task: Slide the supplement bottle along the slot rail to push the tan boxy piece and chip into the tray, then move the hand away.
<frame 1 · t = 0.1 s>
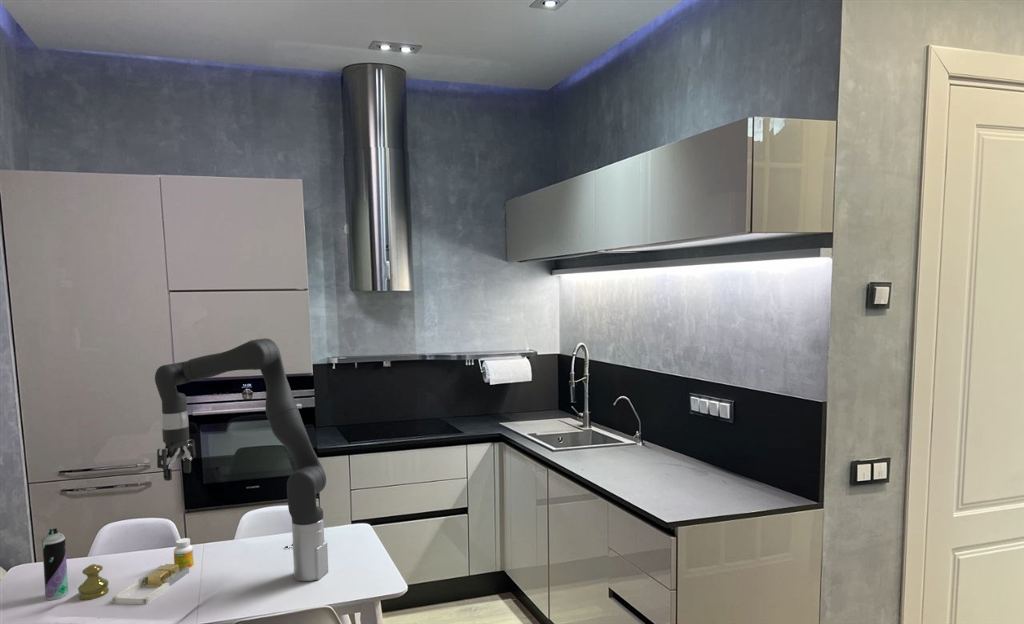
hand: (177, 476, 208), 29 cm above the table, tool pointing down, fingers open, 8 cm apart
slot rail: (164, 584, 196), on the table
tan boxy piece: (158, 583, 194), point 1 cm above the table, touching slot rail
chip a: (168, 576, 198), point 1 cm above the table, touching slot rail
gold metal knob shape: (94, 599, 188), on the table
supplement bottle: (184, 571, 206), on the table
hatchet: (304, 538, 231), on the table
spray can: (57, 596, 191), on the table
tray: (141, 600, 187), on the table
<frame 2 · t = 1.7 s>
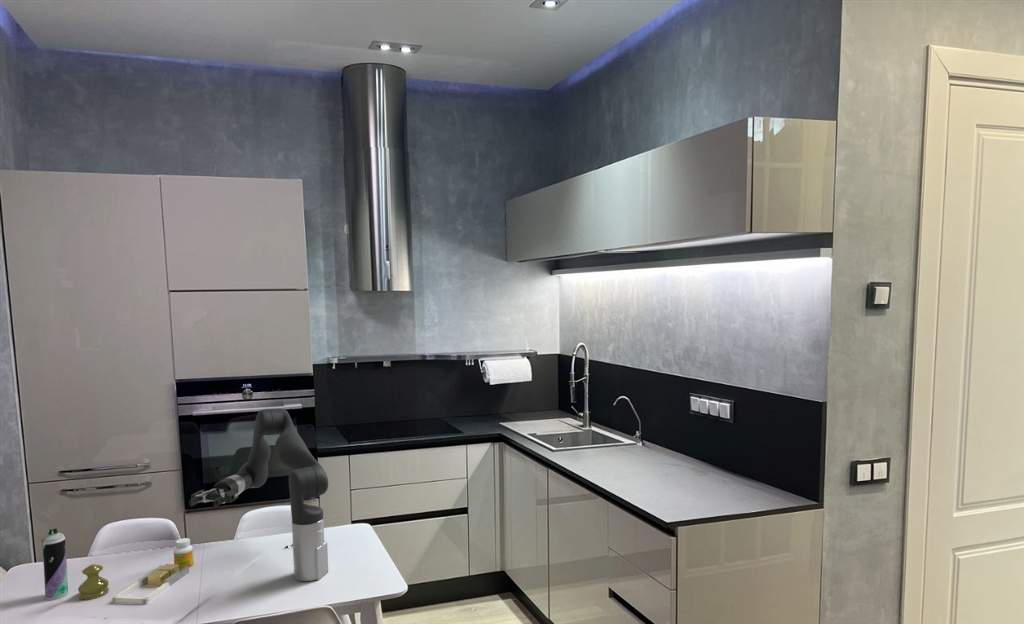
hand: (202, 503, 216), 18 cm above the table, tool horizontal, fingers open, 8 cm apart
nothing on the table moved.
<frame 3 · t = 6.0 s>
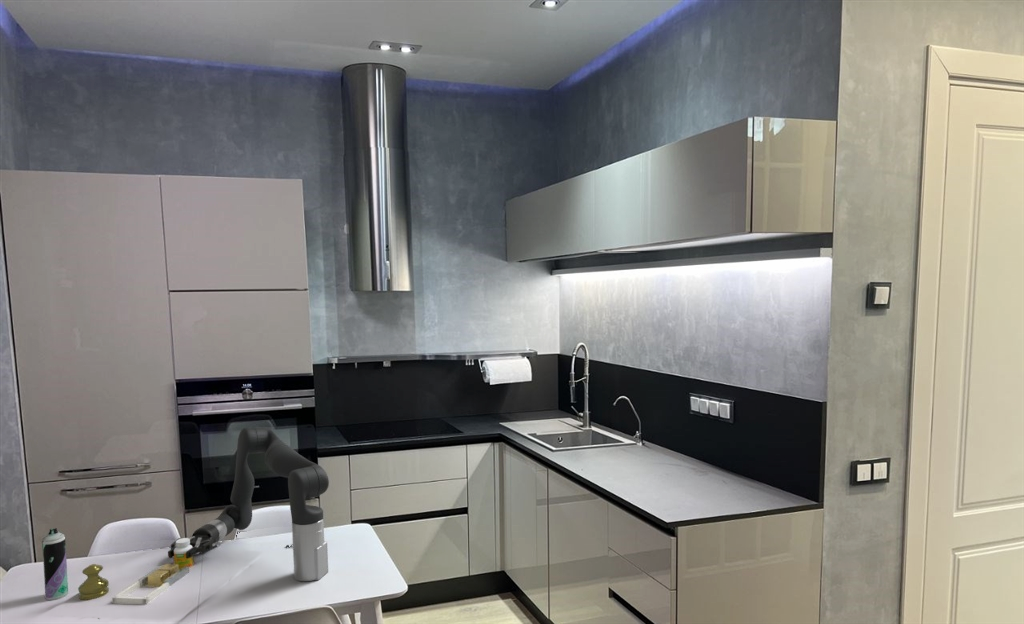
hand: (178, 555, 203), 6 cm above the table, tool horizontal, fingers closed on supplement bottle, 5 cm apart
supplement bottle: (184, 571, 206), on the table, touching gripper
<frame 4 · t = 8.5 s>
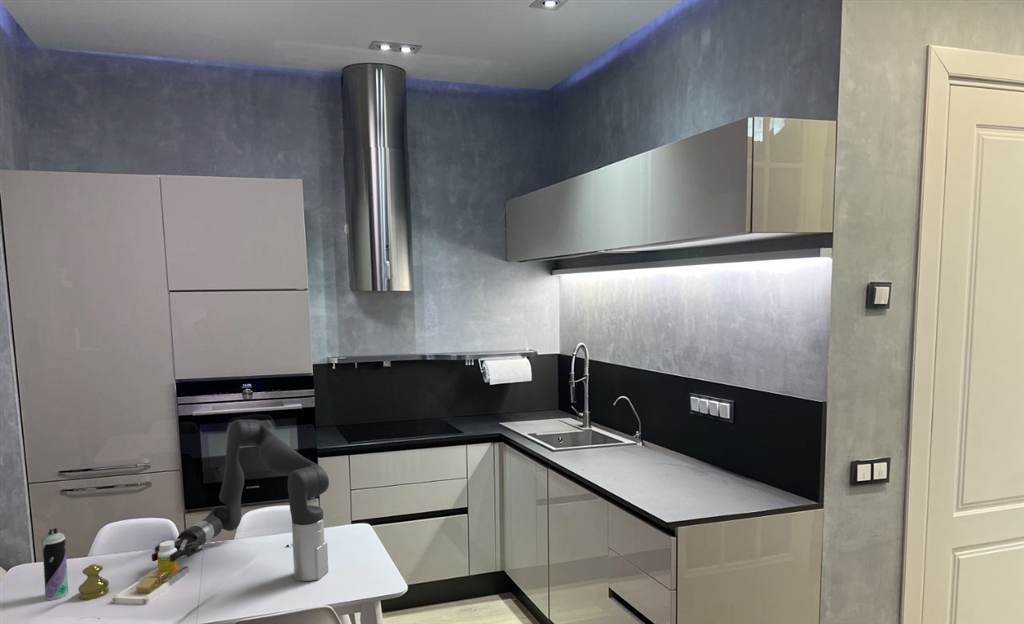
hand: (162, 558, 196), 8 cm above the table, tool horizontal, fingers closed on supplement bottle, 5 cm apart
tan boxy piece: (149, 591, 190), point 1 cm above the table, tilted 14°, touching slot rail, tray
chip a: (158, 583, 194), point 1 cm above the table, touching supplement bottle, slot rail
supplement bottle: (168, 574, 198), point 2 cm above the table, touching chip a, gripper
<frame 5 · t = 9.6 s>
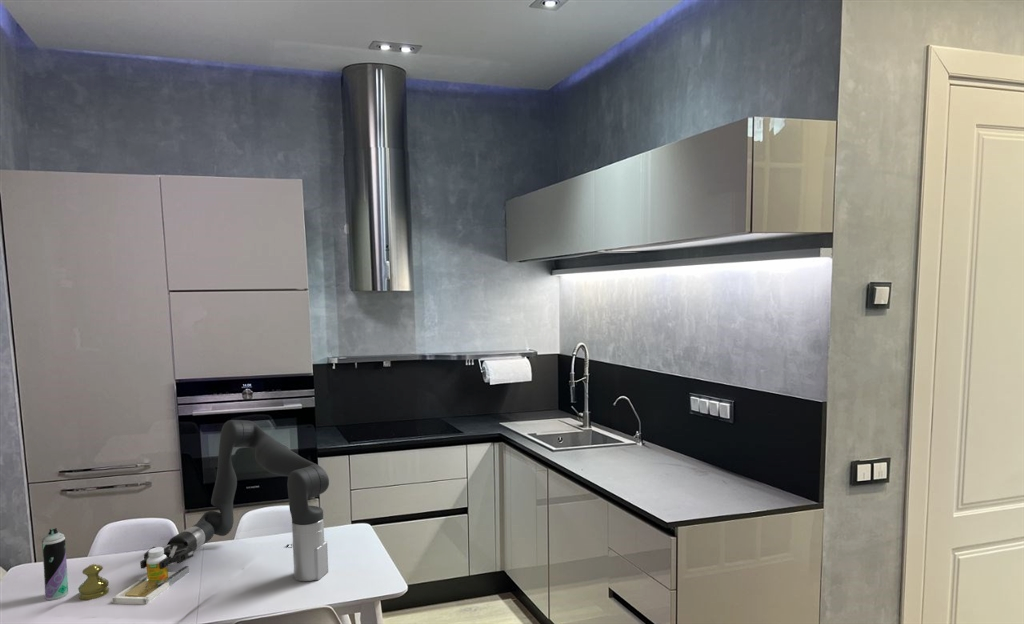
hand: (151, 565, 191), 8 cm above the table, tool horizontal, fingers closed on supplement bottle, 5 cm apart
tan boxy piece: (137, 600, 185), point 1 cm above the table, touching tray
chip a: (147, 594, 189), point 1 cm above the table, touching supplement bottle, tray
supplement bottle: (158, 582, 194), point 2 cm above the table, touching chip a, gripper
when the fingers open (8 cm above the table, at t = 10.8 s): supplement bottle stays where it is, resting on slot rail.
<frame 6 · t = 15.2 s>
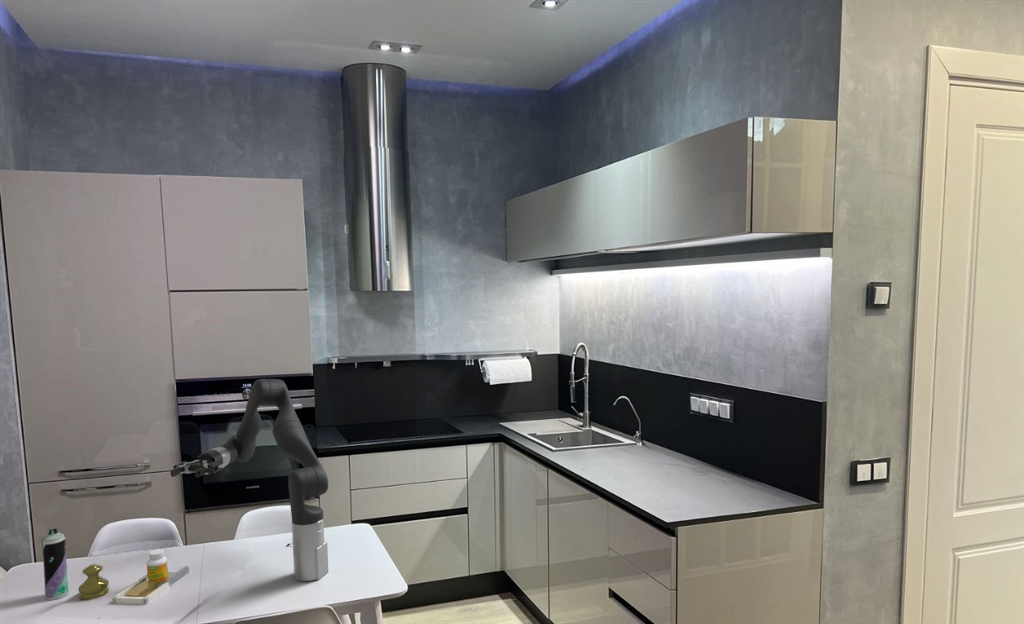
hand: (184, 473, 208), 30 cm above the table, tool horizontal, fingers open, 8 cm apart
tan boxy piece: (137, 600, 185), point 1 cm above the table, touching chip a, tray
chip a: (147, 594, 189), point 1 cm above the table, touching tan boxy piece, tray
supplement bottle: (158, 584, 194), point 1 cm above the table, touching slot rail
at the end: chip a inside the target area on the tray (2.4 cm from its centre), point 0.6 cm above the tray's base; tan boxy piece inside the target area on the tray (1.6 cm from its centre), point 0.6 cm above the tray's base; the gripper is holding nothing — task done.
